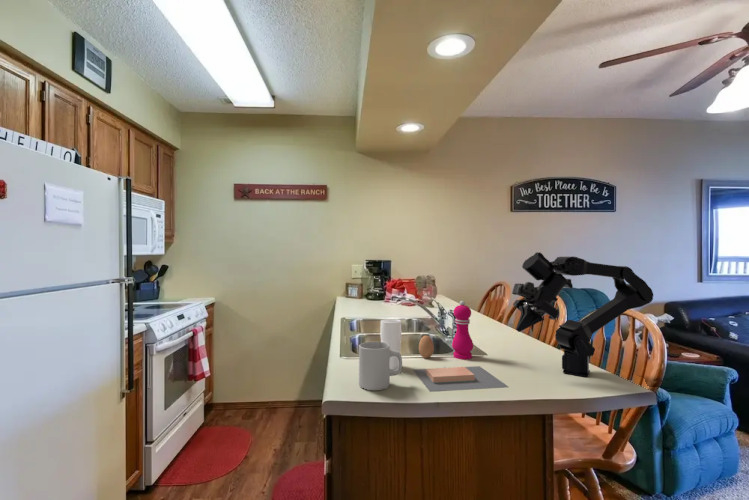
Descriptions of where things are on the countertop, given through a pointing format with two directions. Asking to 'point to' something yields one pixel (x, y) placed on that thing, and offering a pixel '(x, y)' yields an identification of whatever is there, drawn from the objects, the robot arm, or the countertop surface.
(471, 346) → the pepper mill
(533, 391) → the countertop surface
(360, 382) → the mug
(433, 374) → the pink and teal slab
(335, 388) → the countertop surface
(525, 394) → the countertop surface
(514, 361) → the countertop surface
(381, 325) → the white cylinder
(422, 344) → the egg
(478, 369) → the charcoal rubber mat
